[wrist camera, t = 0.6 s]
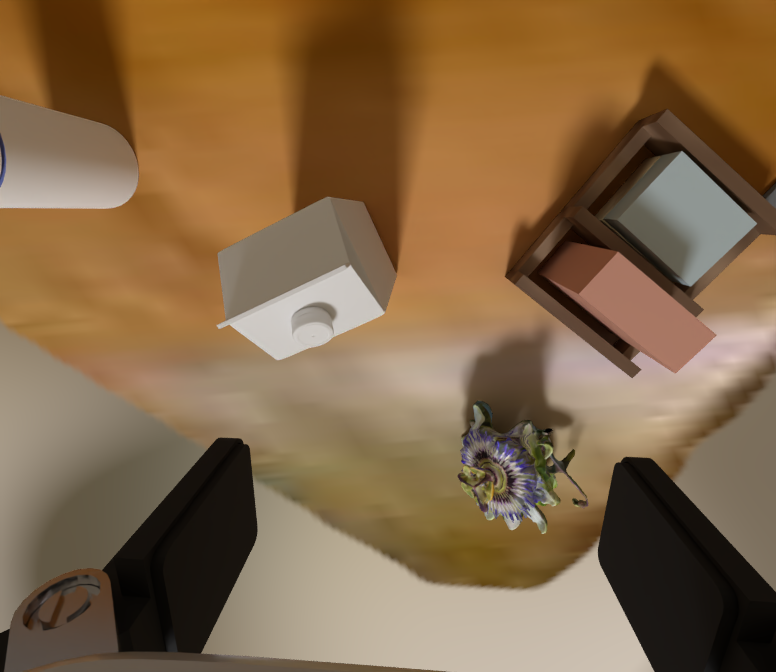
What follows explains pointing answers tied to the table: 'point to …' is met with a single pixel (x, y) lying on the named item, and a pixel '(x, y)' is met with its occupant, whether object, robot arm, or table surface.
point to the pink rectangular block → (627, 303)
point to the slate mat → (771, 195)
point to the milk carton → (306, 278)
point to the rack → (660, 138)
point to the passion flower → (511, 470)
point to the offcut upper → (679, 219)
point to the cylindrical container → (61, 160)
